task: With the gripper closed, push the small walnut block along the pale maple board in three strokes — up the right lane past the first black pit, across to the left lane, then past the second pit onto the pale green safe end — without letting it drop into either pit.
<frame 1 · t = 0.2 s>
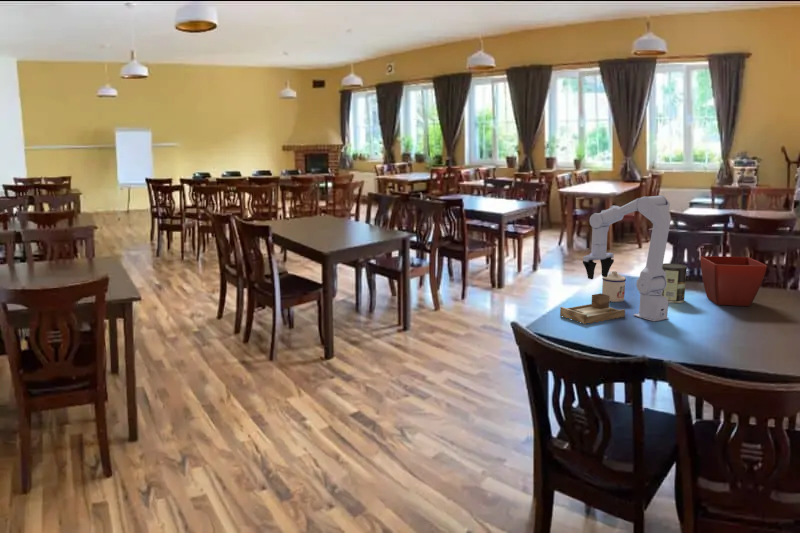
hand: (597, 277, 275), 10 cm above the table, tool pointing down, fingers open, 7 cm apart
walnut block: (600, 307, 261), point 2 cm above the table, touching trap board
coffee can: (670, 300, 280), on the table
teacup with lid: (613, 299, 282), on the table
plant pot: (728, 302, 277), on the table
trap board: (592, 316, 256), on the table
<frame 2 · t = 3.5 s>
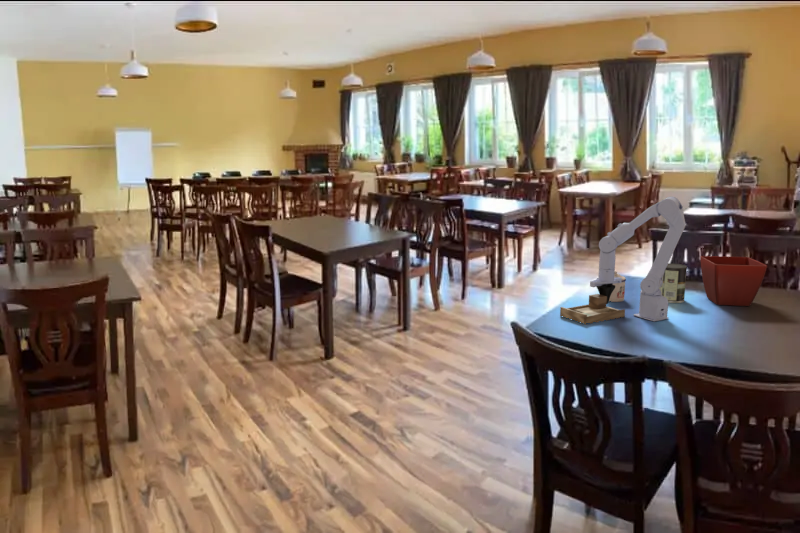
hand: (604, 303, 262), 3 cm above the table, tool pointing down, fingers closed
walnut block: (597, 307, 261), point 2 cm above the table, touching gripper
everything else where it was.
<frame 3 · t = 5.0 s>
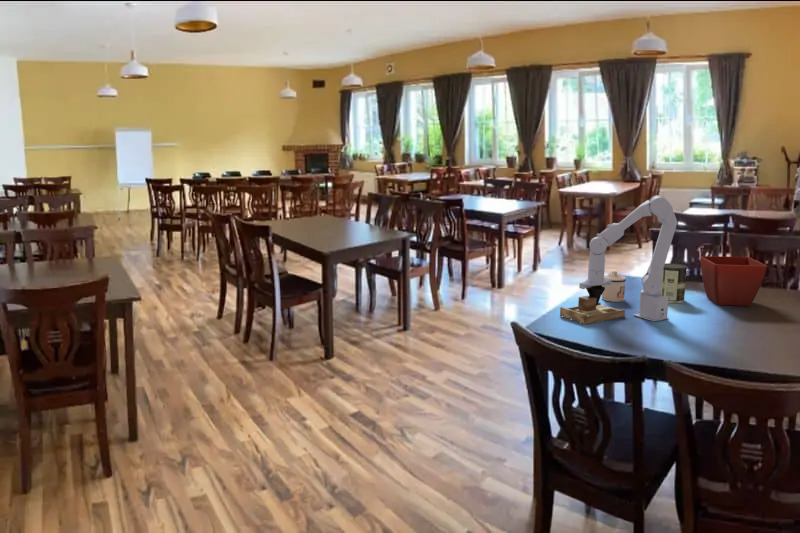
hand: (594, 305, 260), 3 cm above the table, tool pointing down, fingers closed
walnut block: (586, 309, 258), point 2 cm above the table, touching gripper, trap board
everything else where it was.
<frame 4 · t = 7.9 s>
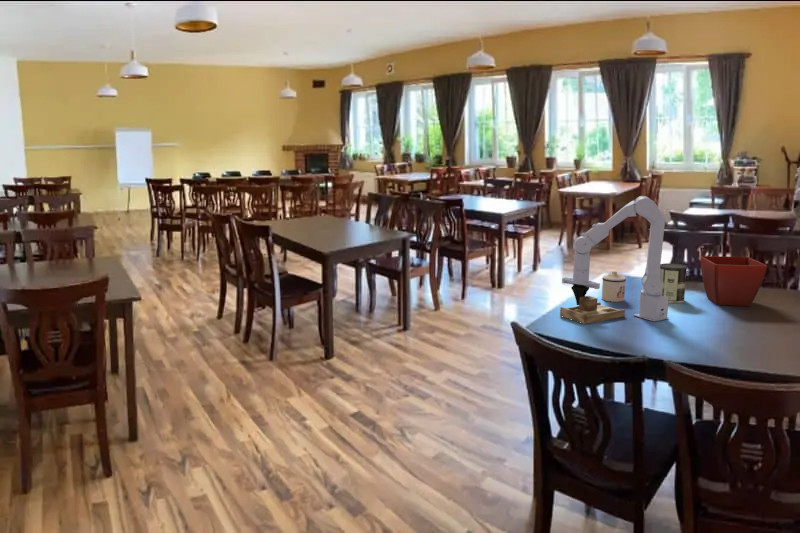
hand: (579, 304, 261), 3 cm above the table, tool pointing down, fingers closed
walnut block: (587, 309, 258), point 2 cm above the table, touching gripper
everything else where it was.
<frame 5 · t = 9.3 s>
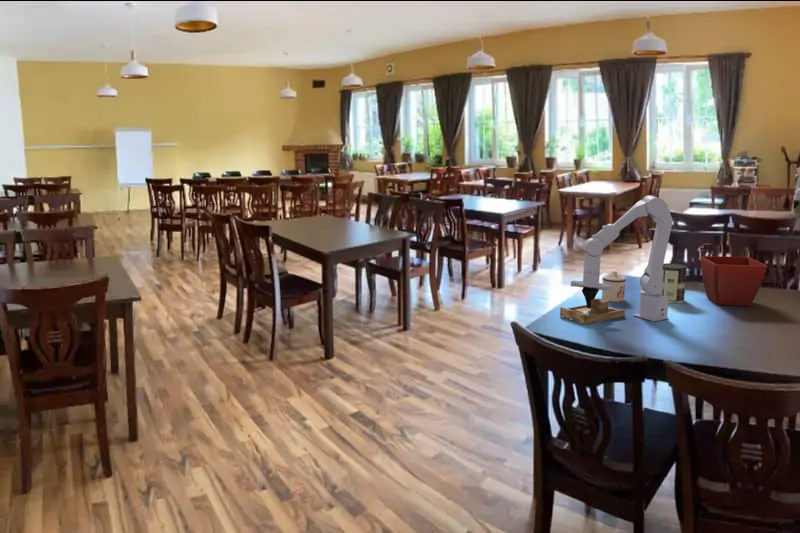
hand: (589, 307, 256), 3 cm above the table, tool pointing down, fingers closed
walnut block: (599, 312, 254), point 2 cm above the table, touching gripper, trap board
everything else where it was.
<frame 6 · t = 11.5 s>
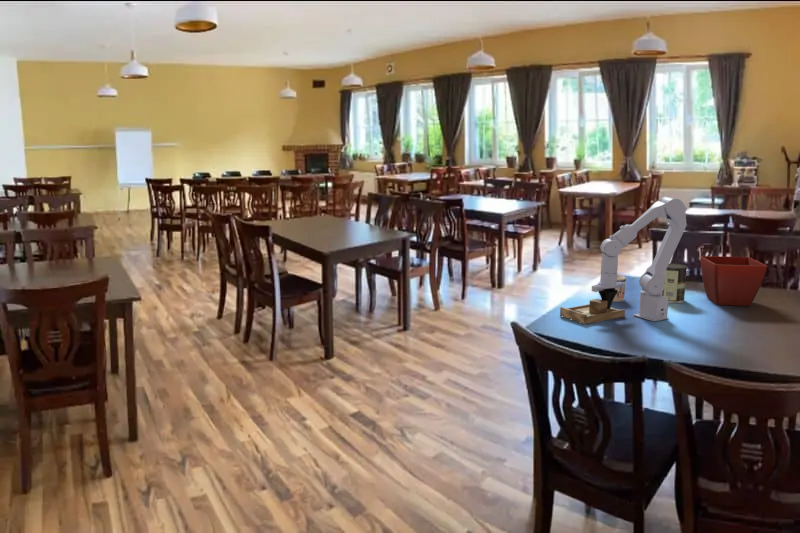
hand: (606, 308, 255), 3 cm above the table, tool pointing down, fingers closed
walnut block: (597, 312, 253), point 2 cm above the table, touching gripper
everything else where it was.
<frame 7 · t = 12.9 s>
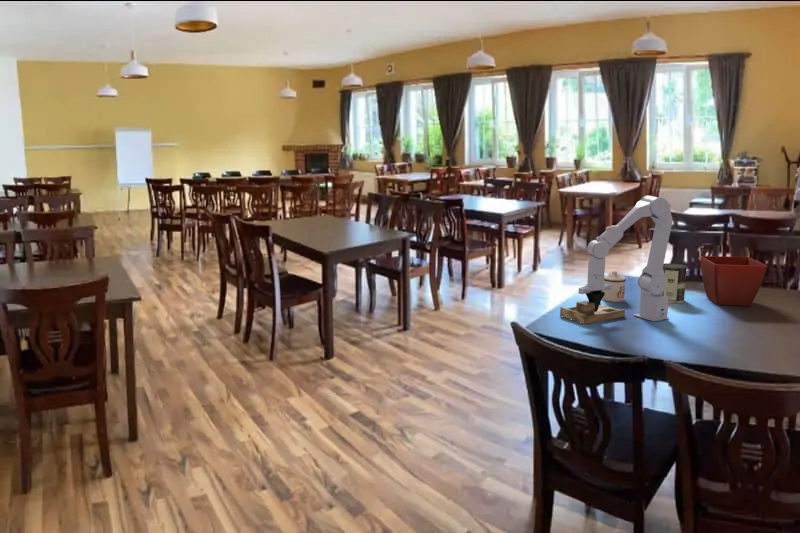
hand: (594, 311, 252), 3 cm above the table, tool pointing down, fingers closed
walnut block: (585, 314, 251), point 2 cm above the table, touching gripper, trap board
everything else where it was.
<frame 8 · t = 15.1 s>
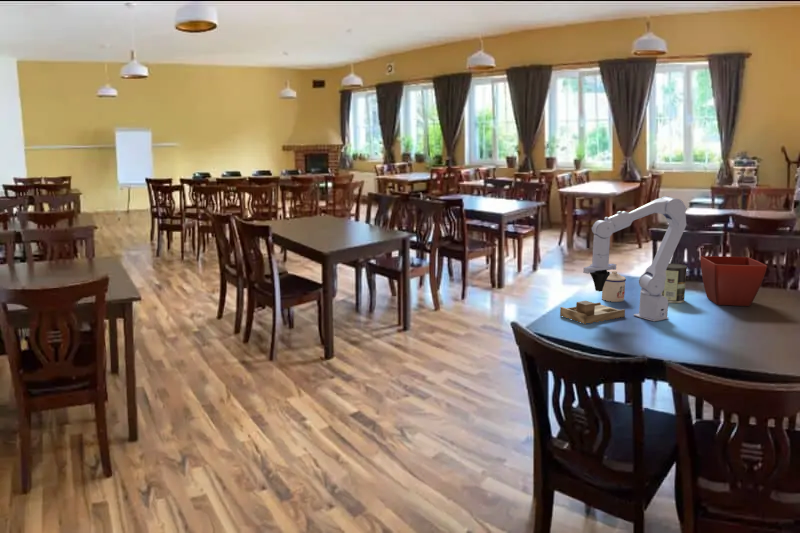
hand: (598, 290, 253), 10 cm above the table, tool pointing down, fingers closed
walnut block: (585, 314, 251), point 2 cm above the table, touching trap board
everything else where it was.
at the end: walnut block 0.9 cm from the target spot on the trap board, point 2.0 cm above the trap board's base; walnut block tilted 0° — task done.
